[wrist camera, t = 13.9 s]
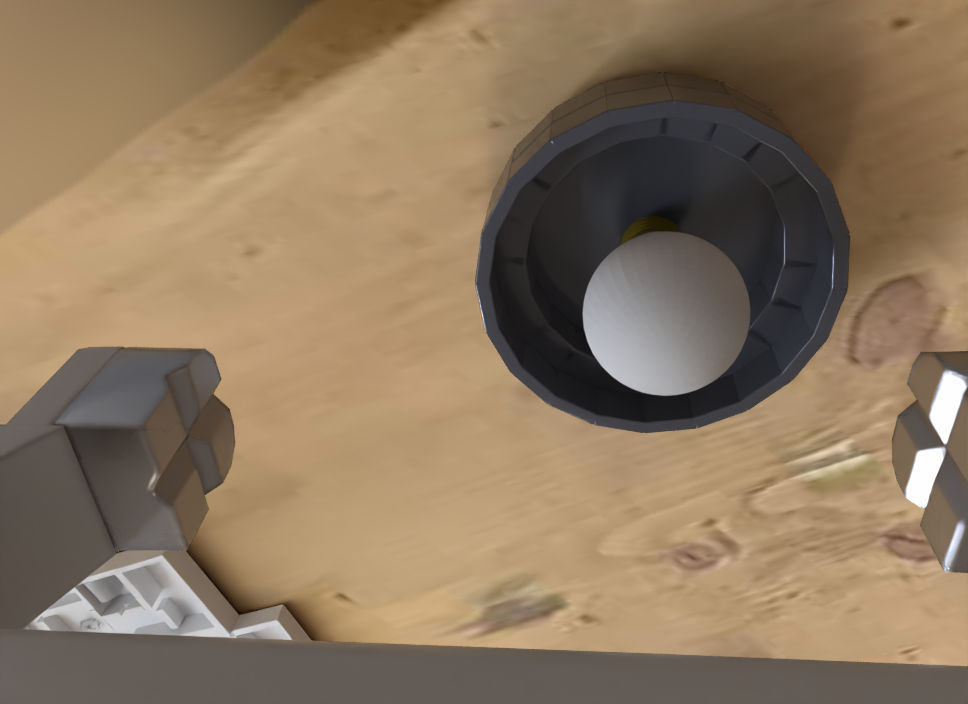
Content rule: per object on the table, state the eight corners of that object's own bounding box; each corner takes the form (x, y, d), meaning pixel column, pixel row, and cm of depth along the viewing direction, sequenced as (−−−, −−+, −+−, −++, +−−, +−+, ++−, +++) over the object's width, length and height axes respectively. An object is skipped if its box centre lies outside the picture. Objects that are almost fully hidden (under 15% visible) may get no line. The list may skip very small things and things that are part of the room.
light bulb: (746, 250, 35) (799, 374, 26) (631, 319, 37) (646, 454, 29) (671, 143, 33) (703, 241, 24) (555, 224, 35) (547, 339, 27)
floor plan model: (445, 693, 54) (441, 720, 52) (154, 750, 61) (142, 775, 60) (304, 492, 46) (294, 516, 44) (-13, 587, 53) (-32, 610, 51)
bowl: (439, 294, 38) (422, 348, 34) (584, 5, 31) (584, 28, 27) (696, 413, 40) (710, 478, 36) (888, 168, 33) (934, 213, 29)
